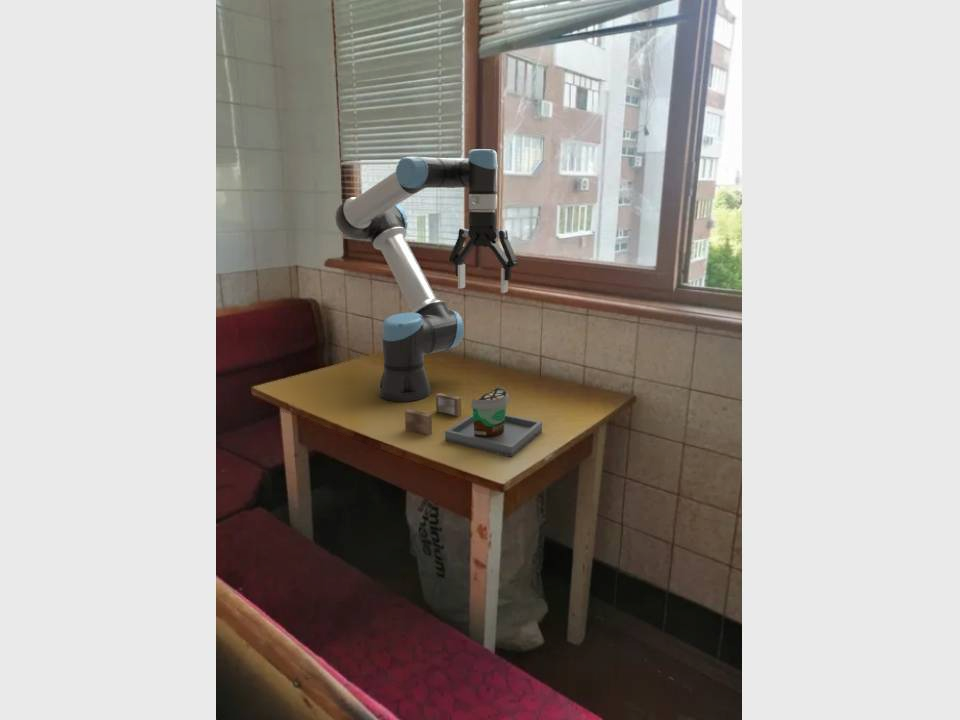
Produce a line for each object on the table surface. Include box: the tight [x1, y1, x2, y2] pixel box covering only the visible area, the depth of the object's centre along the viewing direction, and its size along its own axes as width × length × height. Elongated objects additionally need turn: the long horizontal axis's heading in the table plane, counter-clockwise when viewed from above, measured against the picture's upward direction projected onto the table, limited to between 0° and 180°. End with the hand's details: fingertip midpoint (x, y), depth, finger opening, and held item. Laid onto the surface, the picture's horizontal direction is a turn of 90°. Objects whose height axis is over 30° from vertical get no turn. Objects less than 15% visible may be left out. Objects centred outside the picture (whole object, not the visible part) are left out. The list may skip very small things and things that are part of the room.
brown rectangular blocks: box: [404, 392, 462, 436], centre depth 153 cm, size 7×16×5 cm, turn 150°
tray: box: [444, 413, 543, 458], centre depth 145 cm, size 18×17×2 cm
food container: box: [470, 385, 510, 438], centre depth 144 cm, size 12×6×10 cm, turn 149°
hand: (482, 290), depth 162 cm, fingers open, 13 cm apart
